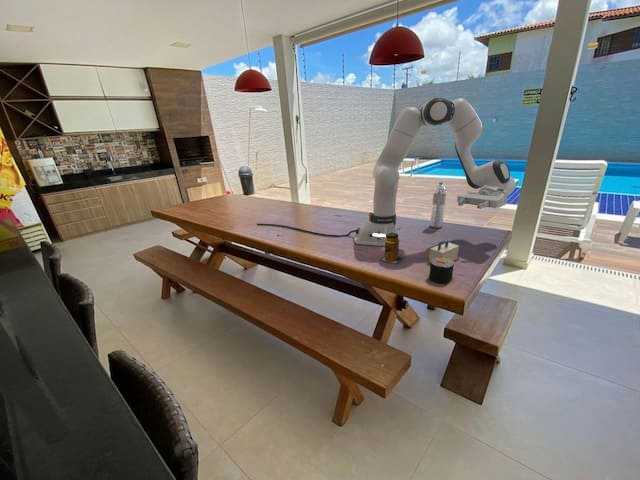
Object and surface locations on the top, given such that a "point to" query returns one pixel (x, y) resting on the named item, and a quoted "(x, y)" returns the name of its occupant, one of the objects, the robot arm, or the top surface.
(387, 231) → the robot arm
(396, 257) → the condiment
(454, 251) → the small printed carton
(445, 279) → the sushi
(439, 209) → the water bottle
